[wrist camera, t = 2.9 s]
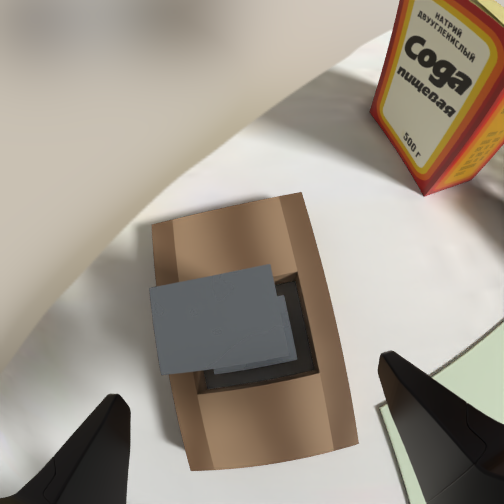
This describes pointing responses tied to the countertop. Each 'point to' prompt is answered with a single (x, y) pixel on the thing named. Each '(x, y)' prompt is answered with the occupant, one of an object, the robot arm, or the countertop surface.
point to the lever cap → (221, 323)
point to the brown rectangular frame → (273, 390)
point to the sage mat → (461, 396)
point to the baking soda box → (443, 89)
